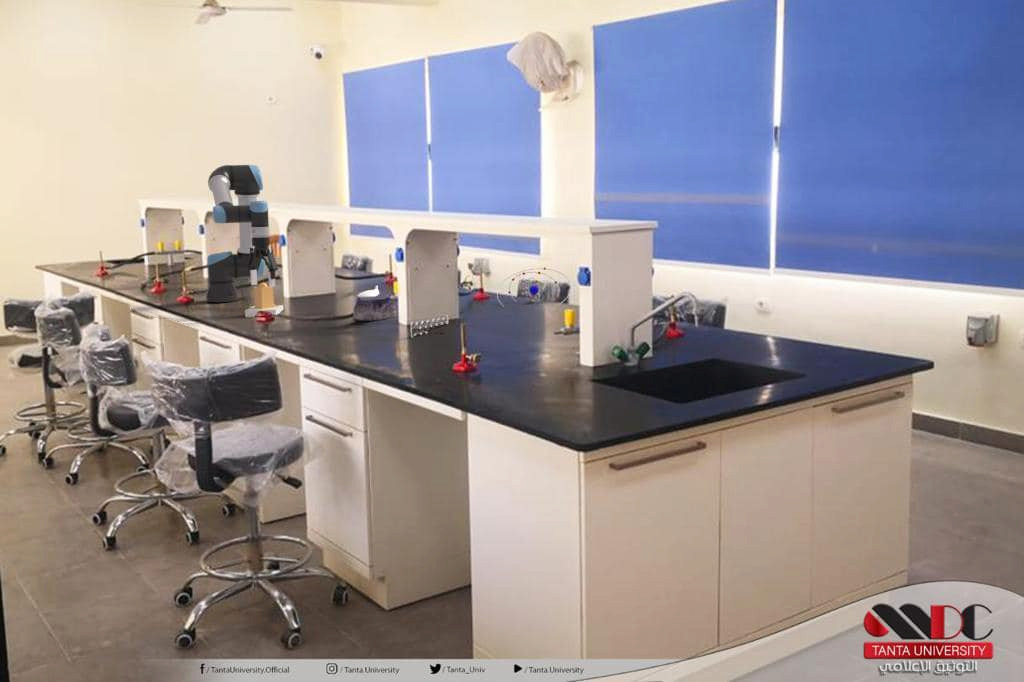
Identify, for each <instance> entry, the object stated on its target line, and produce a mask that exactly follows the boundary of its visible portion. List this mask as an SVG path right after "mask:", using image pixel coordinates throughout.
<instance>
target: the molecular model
mask: <svg viewBox="0 0 1024 682" xmlns="http://www.w3.org/2000/svg"><path fill="white" fill-rule="evenodd" d="M445 316H446V320H445V317H442V318H441V319H440V317H437V318H436V320H435V318H432V319H431V321H430V319H427V320H426V321H425V322H424V320H421V322H420V323H419V322H418V321H416V322H415V323H414V322H413V321H411V322H410V323H409V324H410V337H411V338H414V337H416V336H417V335H420V336H422V335H423V334H426V335H427V334H428V333H429V332H430V333H434V330H430V328H429V327H431V328H432V329H435V326H436V327H437V326H440V325H445V324H447V325H448V324H449V315H448V314H447V315H446V314H445ZM413 323H414V324H413ZM413 329H415V333H413ZM424 329H426V330H424ZM418 330H420V331H418Z"/></svg>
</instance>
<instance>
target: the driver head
mask: <svg viewBox="0 0 1024 682" xmlns="http://www.w3.org/2000/svg"><path fill="white" fill-rule="evenodd" d="M374 287H375V288H374V289H369V290H364V291H362V292H360V293H358V294H357V295H356V297H358V298H372V297H377V296H378V295H380V291H379V286H378V285H375V286H374Z"/></svg>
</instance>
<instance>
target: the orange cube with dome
mask: <svg viewBox="0 0 1024 682" xmlns="http://www.w3.org/2000/svg"><path fill="white" fill-rule="evenodd" d="M274 295H275V294H274V287H269V286H268V284H267V283H266V282H261V283H259V285H258V286H254V287H253V301H254V302H253V303H254V304H253V306H255V308H259V309H265V308H274V305H275V296H274Z"/></svg>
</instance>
